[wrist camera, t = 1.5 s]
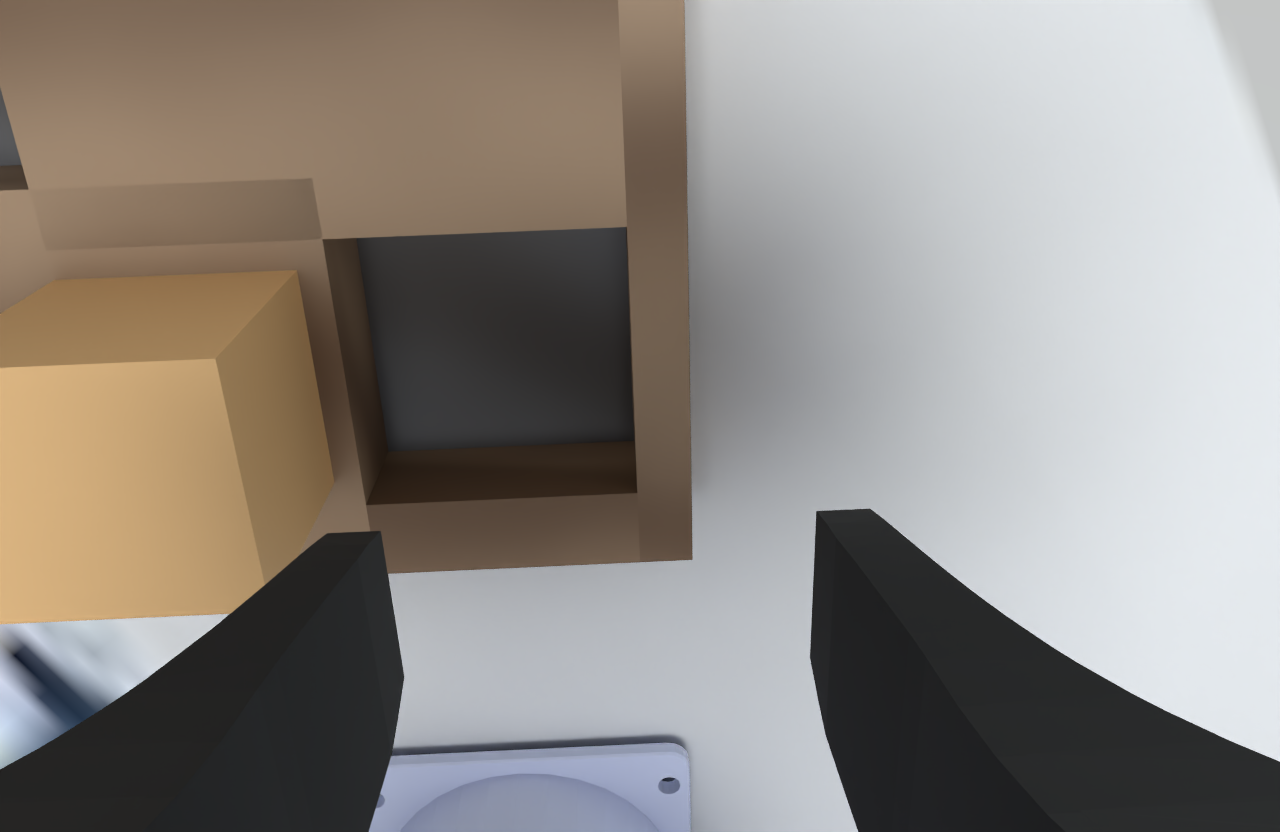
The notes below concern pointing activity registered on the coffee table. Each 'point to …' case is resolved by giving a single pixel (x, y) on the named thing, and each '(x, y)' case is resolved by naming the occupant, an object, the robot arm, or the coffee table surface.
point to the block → (155, 445)
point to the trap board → (400, 238)
